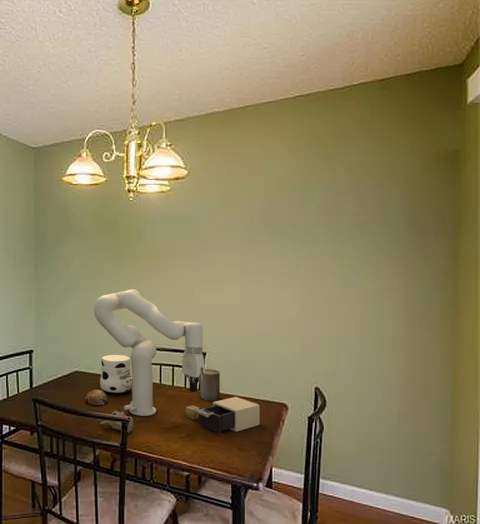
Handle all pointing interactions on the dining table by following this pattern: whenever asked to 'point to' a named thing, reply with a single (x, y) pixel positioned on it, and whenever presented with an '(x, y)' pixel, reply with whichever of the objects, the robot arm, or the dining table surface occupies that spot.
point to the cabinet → (241, 412)
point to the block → (192, 412)
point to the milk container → (116, 374)
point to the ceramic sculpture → (116, 424)
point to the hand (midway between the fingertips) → (193, 391)
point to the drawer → (216, 418)
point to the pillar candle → (210, 385)
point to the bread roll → (96, 397)
